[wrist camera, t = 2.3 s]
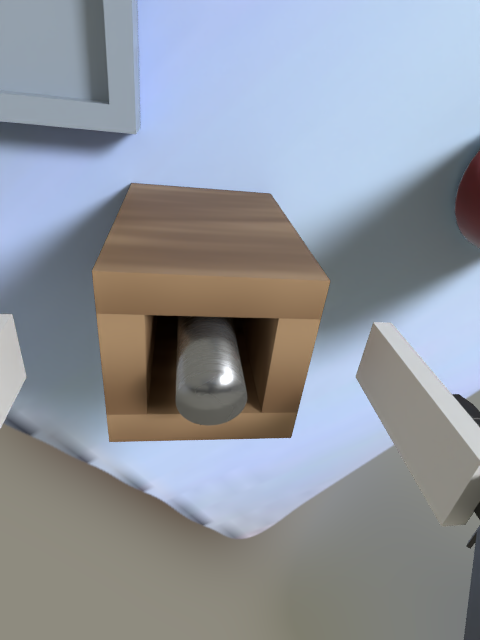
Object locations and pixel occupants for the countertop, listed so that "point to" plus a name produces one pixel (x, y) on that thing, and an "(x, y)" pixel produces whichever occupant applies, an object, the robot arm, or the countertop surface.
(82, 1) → the tray
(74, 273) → the countertop surface
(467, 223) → the soda can
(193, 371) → the rod
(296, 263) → the wooden hollow block
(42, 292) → the countertop surface
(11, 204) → the countertop surface
